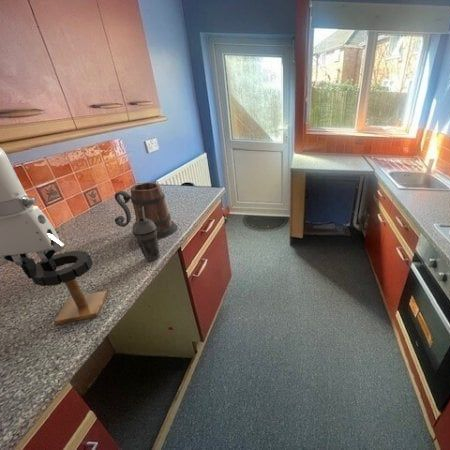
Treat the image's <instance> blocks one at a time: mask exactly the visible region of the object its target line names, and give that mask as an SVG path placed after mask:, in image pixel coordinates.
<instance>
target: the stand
mask: <svg viewBox="0 0 450 450" xmlns="http://www.w3.org/2000/svg"><path fill="white" fill-rule="evenodd" d="M65 268H66V267H65ZM65 268H63V269H65ZM64 285H65V286H66V289H67V290H68V292H69V294H70V296H69V297H68V298H67V300H66V302H65V303H64V305H63V307H62V308H61V310H60V311H59V313H58V314H57V316H56V317H55V319H54V321H53V322H54V324H55V325H61V324H66V323H71V322H72V323H73V322H77V321H81V320H86V319H92V318H97V317H99V315H100V312H101V310H102V308H103V305H104V303H105V301H106V299H107V297H108V294H109V293H108V290H103V291H97V292H91V293H85V294H83V291H82V289H81V287H80V285H79V282H78V281H77V278H76V279H73V280H71V281H68V282H65V283H64Z"/></svg>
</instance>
